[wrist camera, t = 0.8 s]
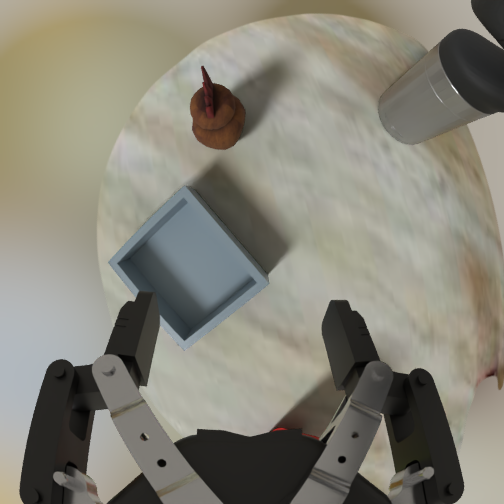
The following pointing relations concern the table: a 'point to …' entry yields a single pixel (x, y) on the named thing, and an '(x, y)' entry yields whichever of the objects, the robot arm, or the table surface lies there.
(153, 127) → the table surface
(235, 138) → the wooden figurine
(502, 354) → the table surface
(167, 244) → the box
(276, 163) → the table surface
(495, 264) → the table surface
